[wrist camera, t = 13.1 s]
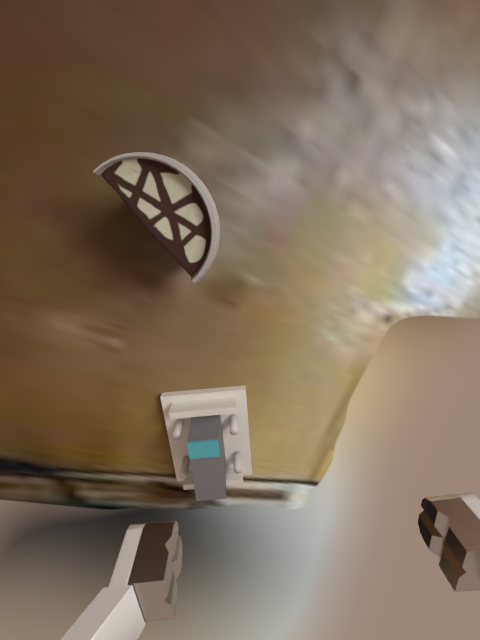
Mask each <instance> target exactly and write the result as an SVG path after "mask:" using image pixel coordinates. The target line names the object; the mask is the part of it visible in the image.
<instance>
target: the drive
mask: <svg viewBox="0 0 480 640" xmlns="http://www.w3.org/2000/svg"><path fill="white" fill-rule="evenodd" d="M187 448H188V454H189V460H190V465H191V471H192V477H193V483H194V489H195V494H196V500H197V501H203V500H213V499H224V498H226V458H225V449H224V441H223V432H222V423H221V415H211V416H200V417H191V421H190V427H189V432H188V438H187Z"/></svg>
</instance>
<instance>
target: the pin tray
mask: <svg viewBox="0 0 480 640" xmlns="http://www.w3.org/2000/svg"><path fill="white" fill-rule="evenodd" d="M160 398H161V403H162V408H163V413H164V418H165V423H166V428H167V433H168V438H169V443H170V448H171V453H172V458H173V463H174V468H175V473H176V478H177V482H180V481H183V489H184V490H188V489H194V483H193V477H192V471H191V465H190V460H189V454H188V448H187V438H188V432H189V427H190V421H191V417H200V416H211V415H221V423H222V432H223V441H224V449H225V458H226V486H230V485H240V484H243V475H252V465H251V452H250V439H249V426H248V413H247V399H246V387H245V386H233V387H222V388H211V389H199V390H188V391H177V392H165V393H162V394H161V396H160Z"/></svg>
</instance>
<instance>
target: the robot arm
mask: <svg viewBox="0 0 480 640" xmlns="http://www.w3.org/2000/svg"><path fill="white" fill-rule="evenodd" d="M421 506H422V508H423V509H424V511H423V512H422V513H421V514H420V515H419V519H418V524H419V529H420V533H421V535H422V537H423V539H424V541H425V543H426V545H427V546H428V548H429V549H430V550H431V551H432V552H434V553H435V554H436V555H438V556H439V566H440V568H441V570H442V571H443V573H444V574H445V576H446V578H447V580H448V581H449V583H450V584H451V586H452V588H453V589H454V591H455V592H458V591H475V590H480V500H479V499H478V498H477V497H476V496H474V495H473V494H470V493H466V494H458V495H444V496H435V497H427V498H424V499H423V500H422V503H421ZM178 530H179V527H178V523H177V521H175V522H162V523H149V524H136V525H130V526H129V528H128V529H127V531H126V534H125V537H124V540H123V543H122V546H121V549H120V552H119V556H118V558H117V562H116V564H115V568H114V570H113V574H112V577H111V580H110V583H109V586H108V587H105V588H102V590H101V591H100V592H99V593H98V594H97V596H96V597H95V598H94V599H93V601H92V602H91V603H90V604H89V605H88V607H87V608H86V609H85V610H84V612H83V613H82V614H81V615H80V616H79V618H78V619H77V620H76V621H75V623H74V624H73V625H72V626H71V627H70V628H69V630H68V631H67V632H66V633H65V635H64V636H63V637H62V638H61V639H60V640H137V639H138V637H139V636H140V634H141V632H142V630H143V629H144V627H145V622H152V621H160V620H168V619H174V618H175V611H176V603H177V596H178V587H177V583H176V579H177V577H178V576H179V574H180V573H181V566H182V551H183V549H182V540H181V537H180V536H179V535H178Z"/></svg>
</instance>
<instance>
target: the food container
mask: <svg viewBox="0 0 480 640" xmlns="http://www.w3.org/2000/svg"><path fill="white" fill-rule="evenodd" d="M94 173H95V174H98V175H100V176H102V177H103V178H104V179H105V180H106V181H107V183H108V184H109V185H111V186H112V187H113V189H114V190H115V191H116V192H117V193H118V194H119V195H120V196H121V198H122V199H123V200H124V201H125V202H126V203H127V204H128V206H129V207H130V208H131V209H132V210H133V211H134V213H135V214H136V215H137V216H138V217H139V219H140V220H141V221H142V222H143V223H144V225H145V226H146V227H147V228H148V229H149V230H150V232H151V233H152V234H153V235H154V236H155V237H156V238H157V239H158V240H159V241H160V242H161V243H162V244H163V246H164V247H165V248H166V249H167V250H168V251H169V252H170V253H171V254H172V256H173V257H174V258H175V259H176V260H177V261H178V262H179V263H180V265H181V266H182V267H183V268H184V269H185V270H186V271H187V272H188V274H189V275H190V276H191V282H192V281H193V282H194V283H196V282H198V281H199V280H200V279H201V278H202V277H203V276H204V275H205V274H206V272H207V271H208V270H209V268H210V267H211V265H212V263H213V261H214V259H215V256H216V253H217V250H218V246H219V239H220V224H219V217H218V213H217V209H216V206H215V203H214V201H213V199H212V197H211V194H210V193H209V191H208V189H207V188H206V186H205V185H204V183H203V182H202V181H201V180H200V179H199V178H198V177H197V175H196V174H195V173H193V172H192V171H191V170H190V169H189V168H187V167H186V166H185V165H183V164H181V163H180V162H178V161H176V160H174V159H172V158H169V157H167V156H164V155H160V154H156V153H147V152H135V153H127V154H122V155H119V156H116V157H113V158H111V159H109V160H108V161H106V162H104V163H102V164H101V165H100V166H99V167H97V168H96V169H95V170H94Z"/></svg>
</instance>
